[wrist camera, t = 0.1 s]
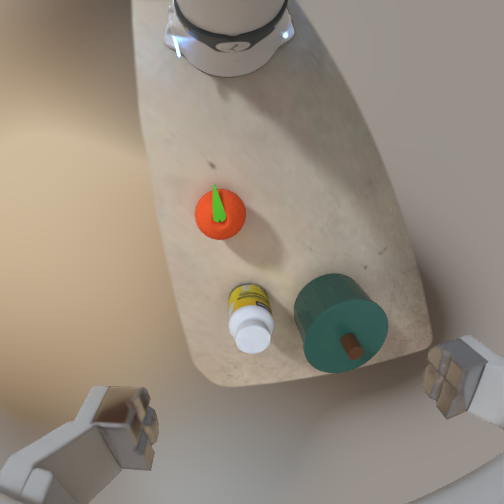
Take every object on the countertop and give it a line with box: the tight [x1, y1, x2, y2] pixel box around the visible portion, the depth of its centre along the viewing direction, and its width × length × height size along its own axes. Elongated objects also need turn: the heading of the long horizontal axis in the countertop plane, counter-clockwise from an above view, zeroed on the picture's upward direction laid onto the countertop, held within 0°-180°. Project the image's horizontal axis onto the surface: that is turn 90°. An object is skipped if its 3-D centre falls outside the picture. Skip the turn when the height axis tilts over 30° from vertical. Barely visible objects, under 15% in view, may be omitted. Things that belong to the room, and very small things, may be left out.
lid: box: [303, 298, 388, 373], centre depth 42 cm, size 14×14×5 cm
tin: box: [294, 274, 372, 342], centre depth 48 cm, size 13×13×10 cm
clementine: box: [195, 184, 246, 240], centre depth 41 cm, size 8×7×7 cm
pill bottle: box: [228, 283, 274, 354], centre depth 45 cm, size 6×6×12 cm
